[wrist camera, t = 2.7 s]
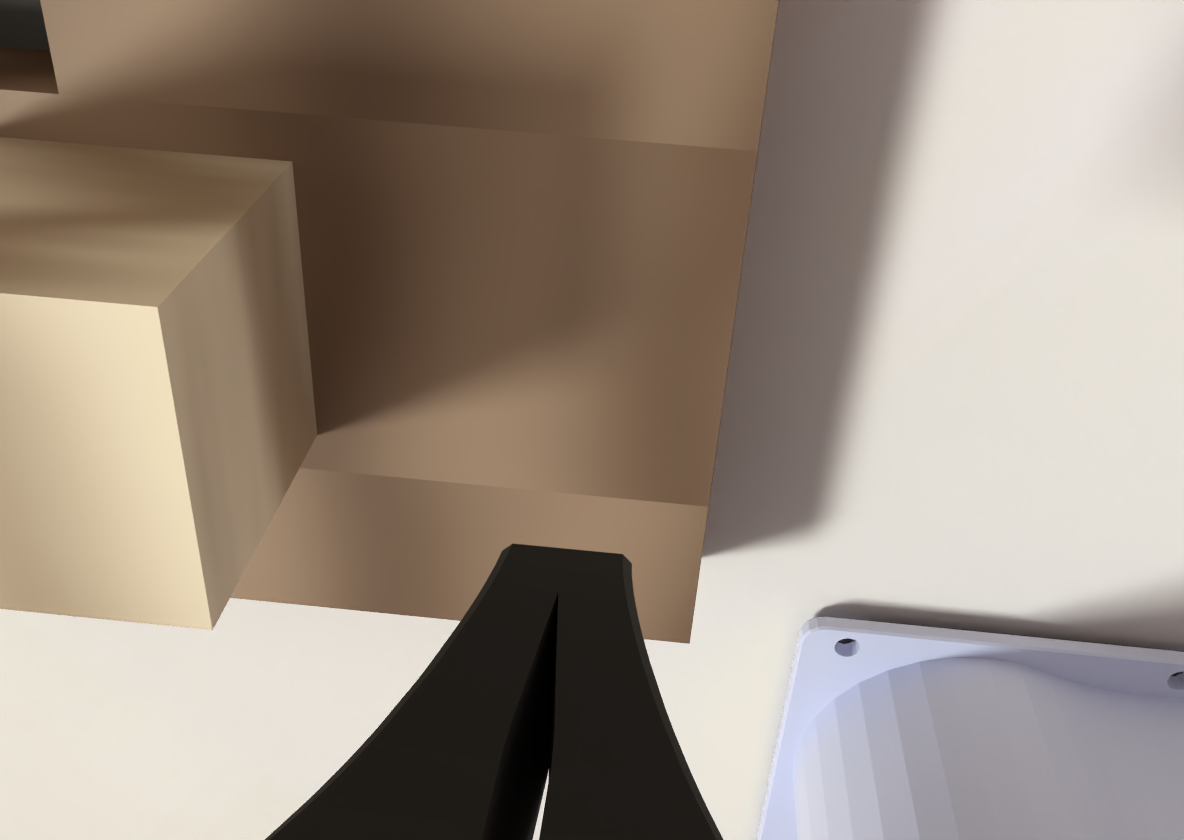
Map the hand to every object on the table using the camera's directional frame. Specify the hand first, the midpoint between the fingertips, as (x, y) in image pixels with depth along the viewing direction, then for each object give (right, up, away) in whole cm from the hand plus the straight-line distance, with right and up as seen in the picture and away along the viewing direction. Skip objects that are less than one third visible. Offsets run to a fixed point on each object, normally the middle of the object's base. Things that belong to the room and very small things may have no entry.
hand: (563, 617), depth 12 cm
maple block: (-7, +4, +6) cm, 10 cm away
